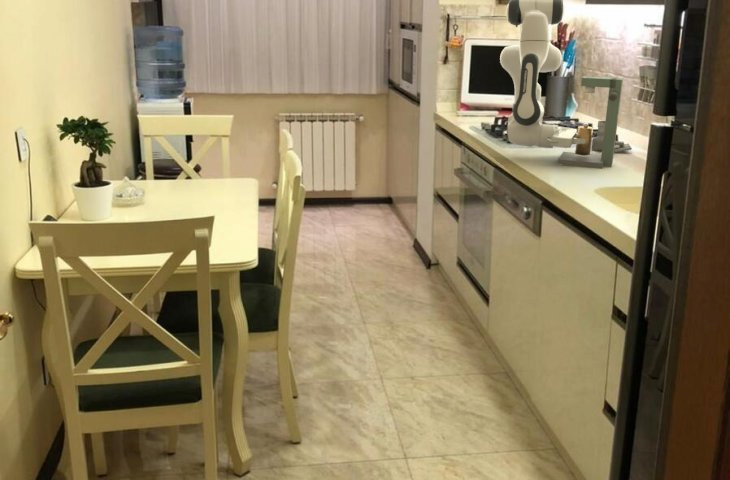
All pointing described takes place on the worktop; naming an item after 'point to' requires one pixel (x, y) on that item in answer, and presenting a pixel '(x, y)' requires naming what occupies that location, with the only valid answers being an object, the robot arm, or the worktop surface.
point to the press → (610, 125)
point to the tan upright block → (587, 134)
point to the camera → (598, 141)
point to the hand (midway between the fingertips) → (586, 139)
